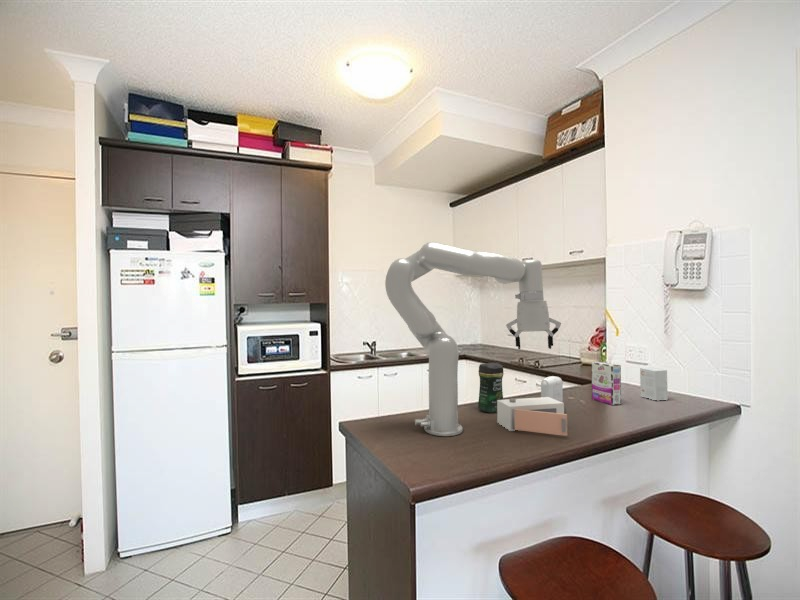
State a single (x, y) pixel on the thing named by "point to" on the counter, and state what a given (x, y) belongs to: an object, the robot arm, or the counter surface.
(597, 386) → the candy bar box
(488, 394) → the coffee jar
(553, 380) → the white rounded block
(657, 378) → the small box
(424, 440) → the counter surface
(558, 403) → the white box
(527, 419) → the side door
